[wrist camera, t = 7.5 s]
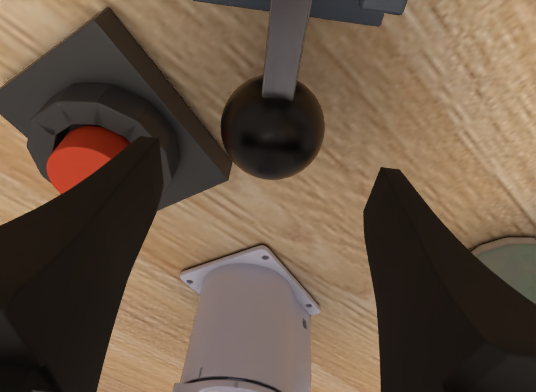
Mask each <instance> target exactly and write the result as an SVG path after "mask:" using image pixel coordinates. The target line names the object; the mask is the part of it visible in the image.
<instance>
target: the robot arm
mask: <svg viewBox="0 0 536 392" xmlns="http://www.w3.org/2000/svg"><path fill="white" fill-rule="evenodd" d="M163 188H164V181H163V171H162V161H161V151H160V141H159V138H153V137H145V136H139V137H138V138H137V139H136V140H134V141H133V142H132V143H131V144H129V145H128V146H127V147H126V148H124V149H123V150H122V151H121V152H119V153H118V154H117V155H116V156H114V157H113V158H112V159H111V160H109V161H108V162H107V163H106V164H104V165H103V166H102V167H100V168H99V169H98V170H96V171H95V172H94V173H92V174H91V175H90V176H88V177H87V178H85V179H84V180H82V181H81V182H79V183H78V184H77V185H75V186H74V187H72V188H71V189H69V190H68V191H66V192H64V193H63V194H61V195H59V196H58V197H56V198H54V199H53V200H51V201H49V202H47V203H45V204H44V205H42V206H40V207H38V208H36V209H34V210H32V211H30V212H28V213H26V214H24V215H22V216H20V217H18V218H16V219H14V220H12V221H9V222H7V223H5V224H3V225H1V226H0V392H96V391H97V387H98V383H99V379H100V375H101V371H102V367H103V363H104V359H105V355H106V352H107V348H108V344H109V341H110V337H111V333H112V330H113V326H114V323H115V319H116V316H117V313H118V309H119V306H120V303H121V299H122V296H123V293H124V290H125V287H126V283H127V280H128V277H129V275H130V272H131V270H132V267H133V265H134V263H135V260H136V258H137V256H138V253H139V251H140V249H141V247H142V244H143V242H144V240H145V238H146V235H147V233H148V231H149V229H150V226H151V224H152V222H153V219H154V217H155V215H156V212H157V209H158V206H159V202H160V199H161V195H162V191H163ZM363 213H364V238H365V244H366V250H367V255H368V261H369V266H370V271H371V277H372V282H373V288H374V293H375V299H376V306H377V318H378V332H379V350H380V375H381V392H536V304H535V303H533V302H532V301H530V300H529V299H527V298H526V297H525V296H523V295H522V294H521V293H519V292H518V291H517V290H515V289H514V288H513V287H511V286H510V285H509V284H507V283H506V282H505V281H504V280H503V279H501V278H500V277H499V276H498V275H496V274H495V273H494V272H493V271H491V270H490V269H489V268H488V267H487V266H486V265H484V264H483V263H482V262H481V261H480V260H479V259H478V258H477V257H476V256H475V255H473V254H472V253H471V252H470V251H469V250H468V249H467V248H466V247H465V246H464V245H463V244H462V243H461V242H460V241H459V240H458V239H457V238H456V237H455V236H454V235H453V234H452V233H451V231H450V230H449V229H448V228H447V227H446V226H445V225H444V224H443V223H442V222H441V220H440V219H439V218H438V217H437V216H436V215H435V213H434V212H433V211H432V210H431V209H430V207H429V206H428V205H427V204H426V202H425V201H424V200H423V199H422V197H421V196H420V195H419V194H418V192H417V191H416V190H415V188H414V187H413V186H412V185H411V183H410V182H409V181H408V179H407V178H406V177H405V176H404V174H403V173H402V172H401V171H400V170H399V169H391V168H384V167H381V168H380V171H379V173H378V176H377V178H376V181H375V183H374V186H373V188H372V191H371V194H370V196H369V199H368V201H367V204H366V206H365V209H364V211H363ZM265 255H266V256H265ZM180 279H181V280H182V281H183V282H184V283H186V284H187V285H188V286H189V287H190V288H192V289H193V290H194V291H195V292H196V293H198V294H199V295H200V296H199V301H198V305H197V309H196V314H195V318H194V323H193V327H192V331H191V336H190V340H189V345H188V349H187V354H186V358H185V362H184V367H183V371H182V376H181V380H180V383H175V384H174V388H173V392H310V387H311V322H310V316H312V315H316V314H319V313H320V307H319V305H318V304H317V303H316V302H315V301H314V300H313V299H312V297H311V296H310V295H309V294H308V293H307V292H306V291H305V290H304V288H303V287H302V286H301V285H300V284H299V283H298V282H297V280H296V279H295V278H294V277H293V276H292V275H291V274H290V272H289V271H288V270H287V269H286V268H285V267H284V266H283V264H282V263H281V262H280V261H279V260H278V259H277V258H276V257H275V255H274V254H273V253H272V252H271V251H270V250H269V249H268V248H267V247H266V246H263V245H260V246H257V247H254V248H251V249H248V250H245V251H242V252H239V253H236V254H233V255H230V256H227V257H224V258H221V259H218V260H215V261H212V262H209V263H206V264H203V265H200V266H197V267H194V268H191V269H188V270H185V271H182V272H181V273H180Z"/></svg>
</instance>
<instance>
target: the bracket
mask: <svg viewBox="0 0 536 392" xmlns="http://www.w3.org/2000/svg"><path fill="white" fill-rule="evenodd" d="M193 1H198V2H205V3H213V4H220V5H227V6H234V7H241V8H248V9H256V10H263V11H270V5H271V0H193ZM406 3H407V0H312V4H311V9H310V15H309V17H313V18H320V19H327V20H335V21H342V22H349V23H356V24H363V25H370V26H378V27H379V26H381V23H382V20H383V16H384V13H387V14H394V15H402V13H403V12H404V9H405V6H406Z"/></svg>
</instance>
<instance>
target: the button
mask: <svg viewBox="0 0 536 392" xmlns="http://www.w3.org/2000/svg"><path fill="white" fill-rule="evenodd" d="M129 144H131V143H130V142H129V141H128V140H127V139H126V138H124V137H123V136H121V135H119V134H117V133H115V132H113V131H111V130H108V129H106V128H103V127H98V126H82V127H78V128H76V129H73V130H72V131H70V132H69V133H68V134H67V135H66V136H65V138H64V139H63V140H62V141H61V143H60V144H59V145H58V146H57V148H56V149H55V150H54V151H53V153H52V154H51V155H50V157H49V158H48V161H47V167H46V168H47V174H48V177H49V179H50V181H51V183H52V184H53V186H54V187H55V188H56V189H57V190H58V192H60V193H61V194H63V193H64V192H66V191H68V190H69V189H71V188H72V187H74V186H75V185H77V184H78V183H79V182H81V181H82V180H84V179H85V178H87V177H88V176H90V175H91V174H92V173H94V172H95V171H96V170H98V169H99V168H100V167H102V166H103V165H104V164H106V163H107V162H108V161H109V160H111V159H112V158H113V157H114V156H116V155H117V154H118V153H119V152H121V151H122V150H123V149H124V148H126V147H127V146H128V145H129Z"/></svg>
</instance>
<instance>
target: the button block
mask: <svg viewBox="0 0 536 392" xmlns="http://www.w3.org/2000/svg"><path fill="white" fill-rule="evenodd" d="M0 114H1V115H2V116H3V117H4V118H5V119H6V120H7V121H9V122H10V123H11V124H12V125H13V126H14V127H16V128H17V129H18V130H19V131H20V132H21V133H23V134H24V135H25V136H26V137H27V138H28V141H27V148H28V150H29V152H30V154H31V156H32V158H33V160H34V162H35V163H36V165H37V167H38V169H39V171H40V173H41V175H43V177H44V178H45V179H47V180H48V181H49V182H50V183H51V181H50V179H49V177H48V174H47V168H46V167H47V161H48V158H49V157H50V155H51V154H52V153H53V151H54V150H55V149H56V148H57V146H58V145H59V144H60V143H61V141H62V140H63V139H64V138H65V136H66V135H67V134H68V133H69V132H70V131H72V130H73V129H76V128H78V127H82V126H98V127H103V128H106V129H108V130H111V131H113V132H115V133H117V134H119V135H121V136H123V137H124V138H126V139H127V140H128V141H129V142H130V143H132V142H133V141H134V140H136V139H137V138H138V137H139V136H145V137H153V138H159V141H160V151H161V161H162V171H163V181H164V188H163V191H162V195H161V199H160V202H159V206H158V209H157V211H158V210H160V209H162V208H165V207H167V206H169V205H172V204H174V203H176V202H179V201H181V200H183V199H186V198H188V197H190V196H193V195H195V194H197V193H200V192H202V191H204V190H207V189H209V188H211V187H214V186H216V185H218V184H221V183H223V182H225V181H228V179H229V175H230V170H231V166H232V161H231V160H230V159H229V157H228V156H227V155H226V154H225V152H224V151H223V150H222V149H221V147H220V146H219V145H218V144H217V142H216V141H215V140H214V139H213V137H212V136H211V135H210V134H209V132H208V131H207V130H206V128H205V127H204V126H203V125H202V123H201V122H200V121H199V120H198V118H197V117H196V116H195V115H194V113H193V112H192V111H191V110H190V108H189V107H188V106H187V105H186V103H185V102H184V101H183V100H182V98H181V97H180V96H179V95H178V93H177V92H176V91H175V90H174V88H173V87H172V86H171V85H170V83H169V82H168V81H167V80H166V78H165V77H164V76H163V75H162V73H161V72H160V71H159V70H158V68H157V67H156V66H155V65H154V63H153V62H152V61H151V60H150V58H149V57H148V56H147V55H146V53H145V52H144V51H143V49H142V48H141V47H140V46H139V44H138V43H137V42H136V41H135V39H134V38H133V37H132V36H131V34H130V33H129V32H128V31H127V29H126V28H125V27H124V26H123V24H122V23H121V22H120V21H119V19H118V18H117V17H116V16H115V14H114V13H113V12H112V11H111V9H110V8H109V7H107V8H105V9H104V10H103V11H101V12H100V13H99V14H97V15H96V16H95V17H94V18H92V19H91V20H90V21H88V22H87V23H86V24H84V25H83V26H82V27H80V28H79V29H78V30H76V31H75V32H74V33H72V34H71V35H70V36H68V37H67V38H66V39H64V40H63V41H62V42H60V43H59V44H58V45H56V46H55V47H54V48H52V49H51V50H50V51H48V52H47V53H46V54H44V55H43V56H42V57H40V58H39V59H38V60H36V61H35V62H34V63H32V64H31V65H30V66H28V67H27V68H26V69H24V70H23V71H22V72H20V73H19V74H18V75H16V76H15V77H14V78H12V79H11V80H10V81H8V82H7V83H6V84H4V85H3V86H2V87H1V88H0ZM51 184H52V183H51Z"/></svg>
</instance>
